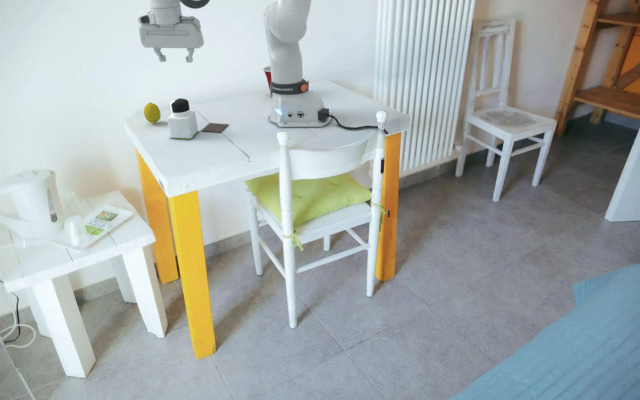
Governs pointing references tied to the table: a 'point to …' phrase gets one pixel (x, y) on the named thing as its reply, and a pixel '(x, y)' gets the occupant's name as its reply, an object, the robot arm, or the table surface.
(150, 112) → the lemon
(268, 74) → the plastic cup
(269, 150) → the table surface
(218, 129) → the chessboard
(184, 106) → the medicine bottle
